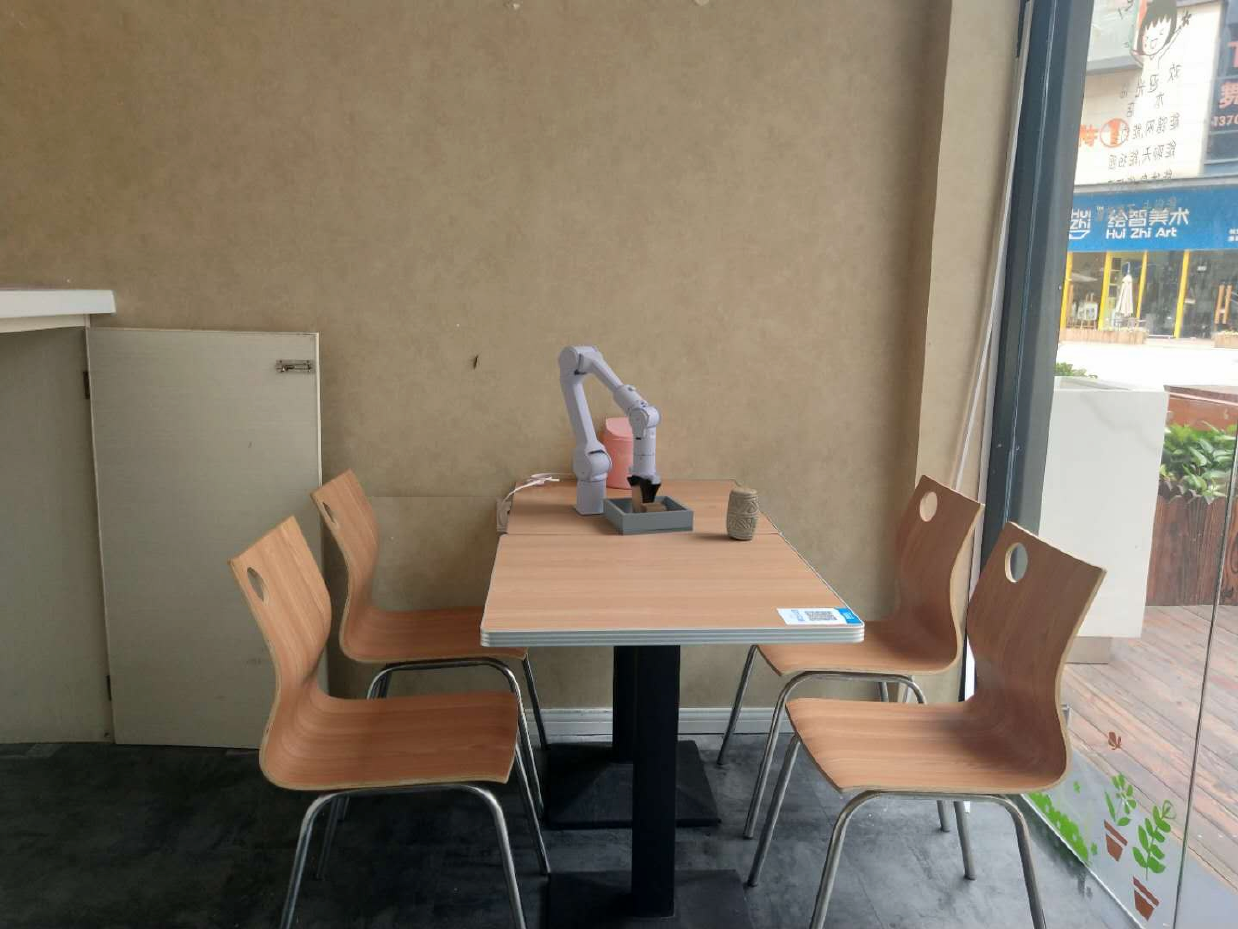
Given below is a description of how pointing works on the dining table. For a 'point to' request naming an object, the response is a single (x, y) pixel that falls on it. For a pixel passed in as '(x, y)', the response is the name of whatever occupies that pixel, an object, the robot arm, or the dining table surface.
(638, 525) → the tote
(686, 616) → the dining table surface
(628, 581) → the dining table surface
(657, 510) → the walnut cube
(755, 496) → the carving
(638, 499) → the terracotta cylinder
